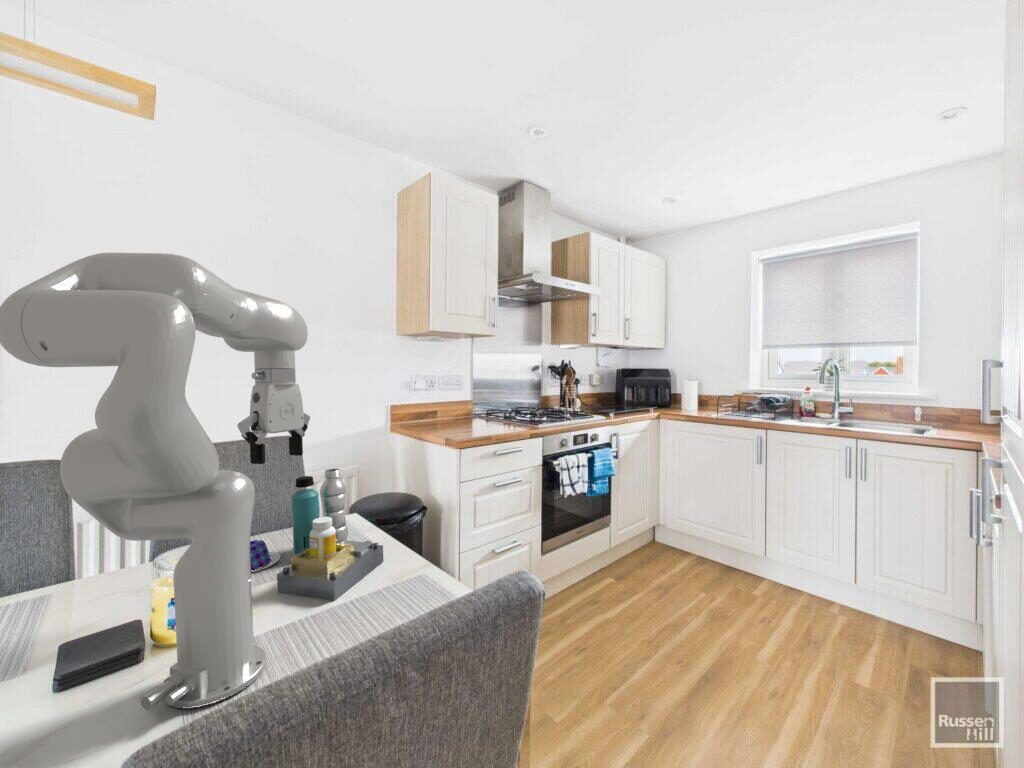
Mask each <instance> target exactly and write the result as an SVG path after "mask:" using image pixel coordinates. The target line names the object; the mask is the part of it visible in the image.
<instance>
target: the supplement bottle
mask: <svg viewBox="0 0 1024 768" xmlns="http://www.w3.org/2000/svg"><path fill="white" fill-rule="evenodd" d="M331 525H332V518H331V517H323V516H322V517H319V518H317V519H314V520H313V528H314V529H313V530H311V532H310V534H309V541H310V558H318V559H328V558H329V557H331V556H332V555H334V554H336V530H335V528H334V527H332V526H331Z"/></svg>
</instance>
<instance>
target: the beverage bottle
mask: <svg viewBox="0 0 1024 768" xmlns="http://www.w3.org/2000/svg"><path fill="white" fill-rule="evenodd" d="M314 485H315V482H314V477H313V476H311V475H305V476H299V477H297V478H295V488H299V490H296V491H295V492H294V493H293V494H292V496H291V497H290V498H291V508H292V509H291V511H292V513H291V514H292V542H293V544H292V545H293V552H294V555H297V554H299V553H301V552H303V551H304V550H306V549H308V548H310V541H309V534H310V532H311V530H313V529H314V528H313V520H314V519H317V518H320V514H321V512H320V502H319V501H320V498H319V497H320V496H319V495H320V492H318V491H317V490H316V489H314V488H309V487H312V486H314ZM300 488H301V489H300Z"/></svg>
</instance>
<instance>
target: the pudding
mask: <svg viewBox="0 0 1024 768" xmlns="http://www.w3.org/2000/svg"><path fill="white" fill-rule="evenodd" d="M268 549H269V548H268V546H267V544H266V542H265V541H264V540H258V539H256V540H255V539H254V540H250V565H251V570H253V571H252V572H251V573H254V572H258V571H262V570H265V569H267V568H269V567H271V566H273V565H275V564H276V563H278V562H279V560H280V559H281V555H280V553H278V552H274V551H273V552H272V551H269V550H268ZM270 557H271V558H270ZM272 559H273V560H272ZM270 563H271V564H270ZM266 565H268V566H266ZM264 566H266V567H264ZM260 567H264V568H262V569H261V568H260ZM257 568H258V569H259V570H258V569H257ZM255 569H256V570H255ZM254 570H255V571H254Z"/></svg>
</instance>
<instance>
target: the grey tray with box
mask: <svg viewBox="0 0 1024 768" xmlns="http://www.w3.org/2000/svg"><path fill="white" fill-rule="evenodd" d="M290 561H291V565H290V566H286V567H283V568H282V570H281V571H280V572H278V573H276V581H277V582H276V584H277V588H276V589H277V594H283V595H291V596H298V597H306V598H313V599H320V600H327V601H337V599H339V598H340V597H342V596H343V594H345V593H346V592H347V591H349V590H351V589H352V588H353V587H354V586H355V585H356V584H357V583H359V582H360V581H362V579H364V578H365V577H367V576H368V575H369V574H370V573H372V572H373V571H374V570H375V569H376V568H377V567H379V566H380V565H381V564H383V563H384V545H383V544H379V542H374V543H373V542H372V541H371V540H366V541H354V540H346V541H345V540H344V541H343V542H342V541H337V539H336V554H334V555H332V556H331V557H329V558H328V559H318V558H310V548H308V549H306V550H304V551H303V552H301V553H299V554H295V555H294V556H292V557H291V560H290ZM382 562H383V563H382Z"/></svg>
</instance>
